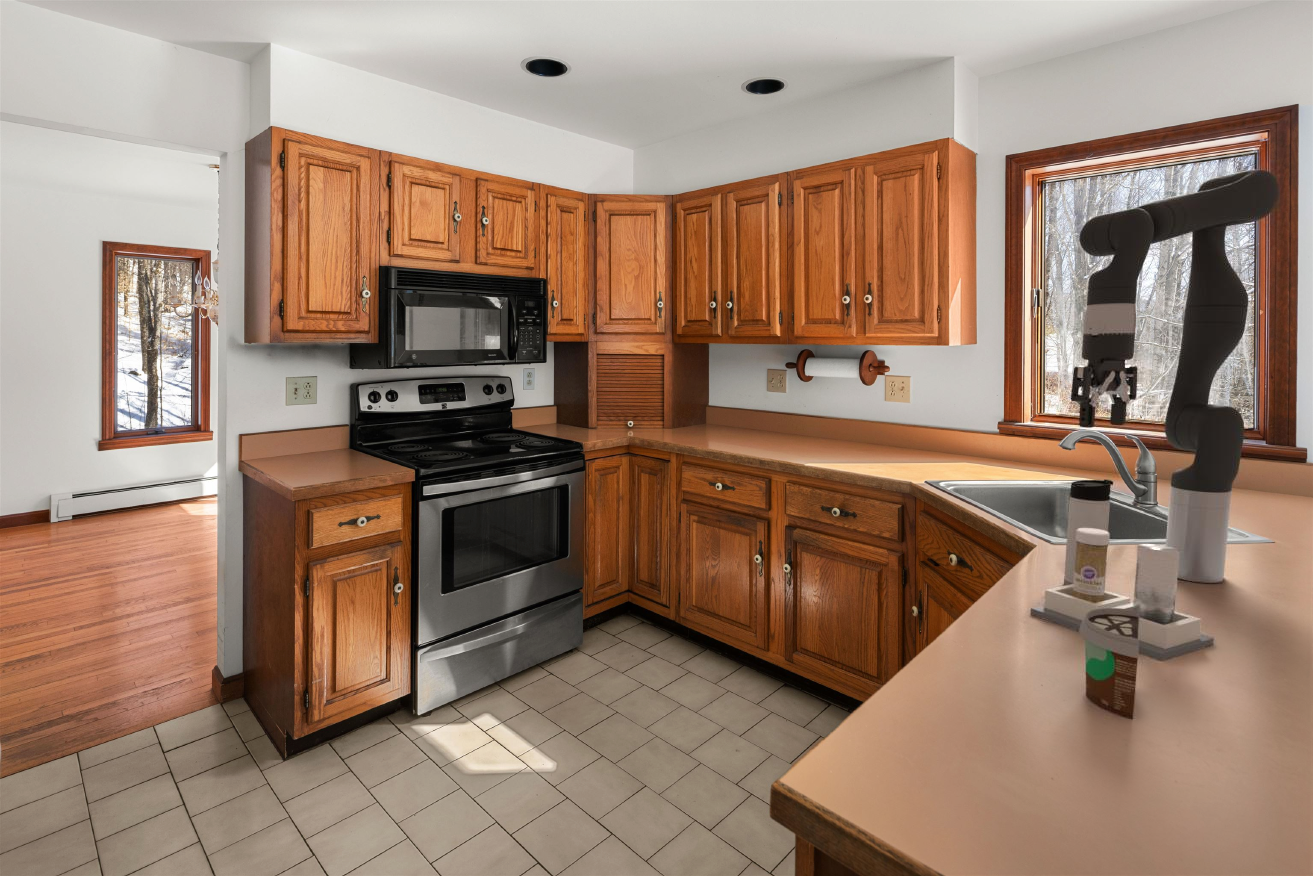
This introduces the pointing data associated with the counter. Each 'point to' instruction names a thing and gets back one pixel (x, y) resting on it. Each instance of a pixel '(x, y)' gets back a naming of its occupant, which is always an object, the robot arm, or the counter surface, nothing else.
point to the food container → (1111, 658)
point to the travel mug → (1085, 515)
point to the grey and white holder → (1151, 635)
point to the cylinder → (1156, 582)
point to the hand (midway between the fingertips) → (1102, 426)
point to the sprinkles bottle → (1090, 564)
